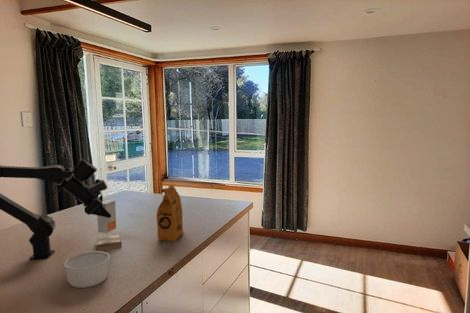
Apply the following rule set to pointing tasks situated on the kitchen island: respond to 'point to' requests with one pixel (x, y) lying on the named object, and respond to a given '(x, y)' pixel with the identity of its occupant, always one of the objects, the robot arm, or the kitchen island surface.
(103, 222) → the skincare box
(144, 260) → the kitchen island surface
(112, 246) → the plinth
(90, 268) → the ramekin
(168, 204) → the coffee package
